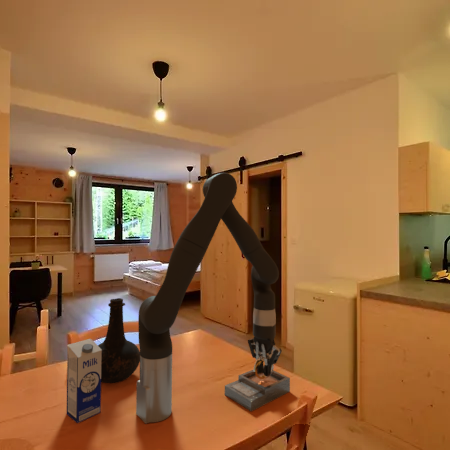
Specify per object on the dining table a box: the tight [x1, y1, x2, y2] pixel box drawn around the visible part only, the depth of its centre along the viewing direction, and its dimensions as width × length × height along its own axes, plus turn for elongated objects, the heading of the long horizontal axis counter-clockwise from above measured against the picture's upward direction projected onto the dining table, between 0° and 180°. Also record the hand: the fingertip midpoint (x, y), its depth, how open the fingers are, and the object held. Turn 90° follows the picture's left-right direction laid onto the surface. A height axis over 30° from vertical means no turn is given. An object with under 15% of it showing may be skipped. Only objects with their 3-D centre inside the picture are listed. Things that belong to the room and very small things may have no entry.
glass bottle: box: [97, 297, 140, 384], centre depth 113 cm, size 18×18×28 cm
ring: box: [253, 355, 275, 380], centre depth 105 cm, size 7×3×8 cm, turn 108°
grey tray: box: [224, 365, 291, 412], centre depth 103 cm, size 18×12×4 cm, turn 130°
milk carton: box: [66, 338, 102, 424], centre depth 91 cm, size 7×7×20 cm
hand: (263, 373), depth 105 cm, fingers closed on ring, 2 cm apart
